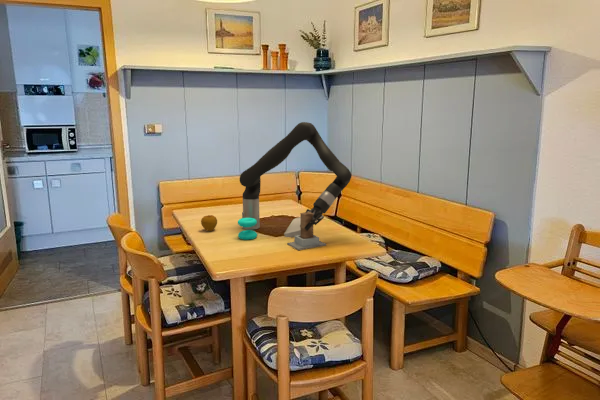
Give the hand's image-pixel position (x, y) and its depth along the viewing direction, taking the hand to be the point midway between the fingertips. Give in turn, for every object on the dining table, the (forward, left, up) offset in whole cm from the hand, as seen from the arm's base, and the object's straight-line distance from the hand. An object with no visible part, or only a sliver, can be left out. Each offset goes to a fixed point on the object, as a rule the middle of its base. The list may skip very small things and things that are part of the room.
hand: (303, 228), depth 226 cm
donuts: (-31, +11, -9) cm, 34 cm away
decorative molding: (-6, +31, -10) cm, 33 cm away
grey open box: (+1, +1, -9) cm, 9 cm away
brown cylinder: (+2, +1, -7) cm, 7 cm away
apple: (-55, +23, -9) cm, 60 cm away
